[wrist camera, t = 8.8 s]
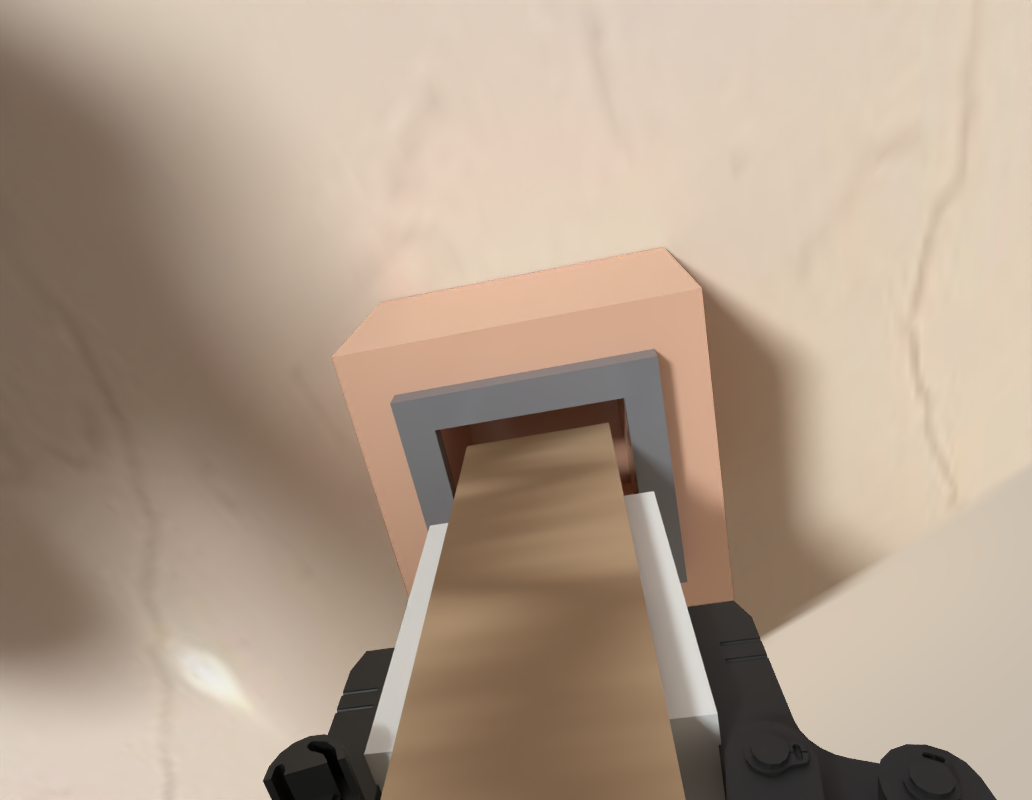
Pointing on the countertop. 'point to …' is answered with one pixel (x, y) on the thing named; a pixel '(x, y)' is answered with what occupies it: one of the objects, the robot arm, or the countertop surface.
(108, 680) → the countertop surface
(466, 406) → the peach square socket block
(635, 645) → the tall wooden block
